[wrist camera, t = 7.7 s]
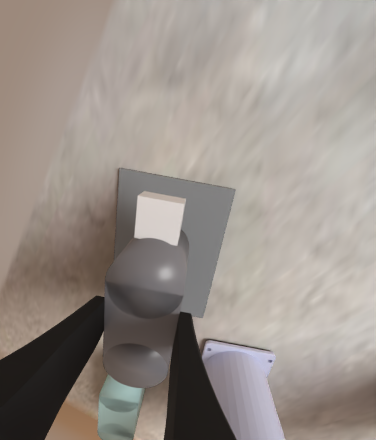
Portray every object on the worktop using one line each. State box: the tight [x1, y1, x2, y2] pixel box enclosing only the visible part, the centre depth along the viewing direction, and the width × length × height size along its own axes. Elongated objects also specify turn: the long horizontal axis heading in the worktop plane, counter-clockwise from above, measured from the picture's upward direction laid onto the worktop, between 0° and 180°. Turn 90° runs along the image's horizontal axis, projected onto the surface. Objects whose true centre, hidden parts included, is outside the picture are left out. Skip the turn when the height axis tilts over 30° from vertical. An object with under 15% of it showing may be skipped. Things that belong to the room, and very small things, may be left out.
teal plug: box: [98, 374, 145, 440], centre depth 22 cm, size 12×4×4 cm, turn 170°
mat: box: [114, 168, 235, 318], centre depth 18 cm, size 14×10×1 cm
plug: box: [103, 191, 189, 388], centre depth 12 cm, size 12×4×4 cm, turn 170°
